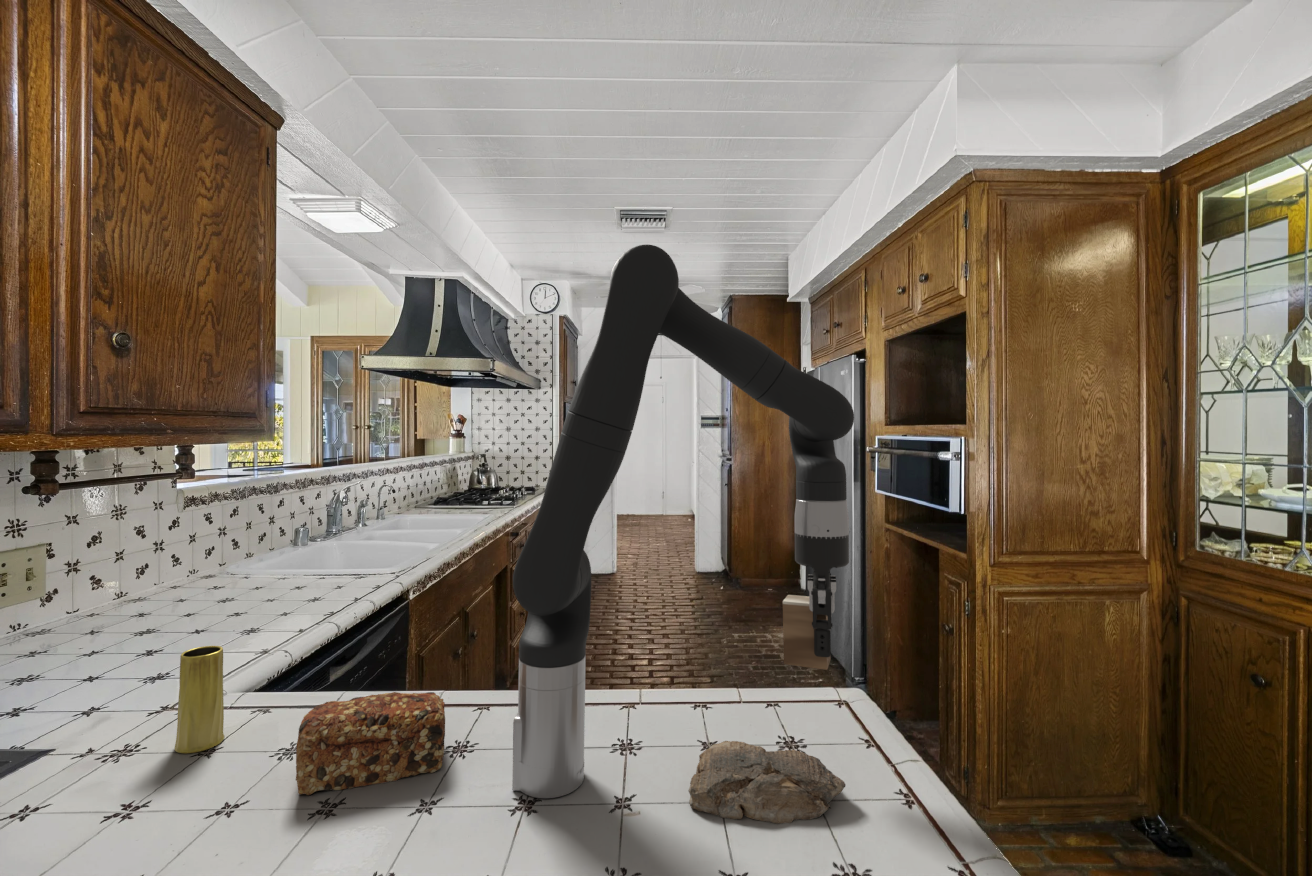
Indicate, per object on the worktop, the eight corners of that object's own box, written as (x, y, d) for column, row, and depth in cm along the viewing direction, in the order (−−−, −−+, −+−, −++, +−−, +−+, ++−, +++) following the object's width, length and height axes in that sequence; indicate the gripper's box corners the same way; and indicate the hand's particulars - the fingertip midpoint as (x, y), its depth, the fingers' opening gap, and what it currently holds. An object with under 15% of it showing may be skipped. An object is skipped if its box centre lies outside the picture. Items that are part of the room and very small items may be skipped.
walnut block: (827, 669, 82) (825, 604, 82) (784, 663, 84) (782, 601, 85) (830, 659, 86) (829, 598, 86) (789, 654, 88) (788, 594, 88)
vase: (175, 758, 86) (177, 661, 86) (173, 742, 91) (175, 650, 91) (226, 745, 90) (228, 652, 90) (222, 730, 95) (224, 641, 95)
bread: (292, 802, 76) (294, 725, 76) (307, 761, 86) (309, 693, 86) (444, 774, 83) (446, 704, 83) (442, 739, 93) (443, 676, 93)
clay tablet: (840, 777, 84) (702, 756, 89) (841, 743, 84) (703, 724, 89) (850, 844, 70) (686, 816, 75) (851, 804, 70) (686, 778, 75)
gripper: (851, 539, 77) (852, 671, 76) (846, 525, 90) (847, 636, 90) (792, 537, 79) (793, 665, 78) (796, 523, 92) (797, 632, 92)
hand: (822, 649), depth 84 cm, fingers closed on walnut block, 4 cm apart
